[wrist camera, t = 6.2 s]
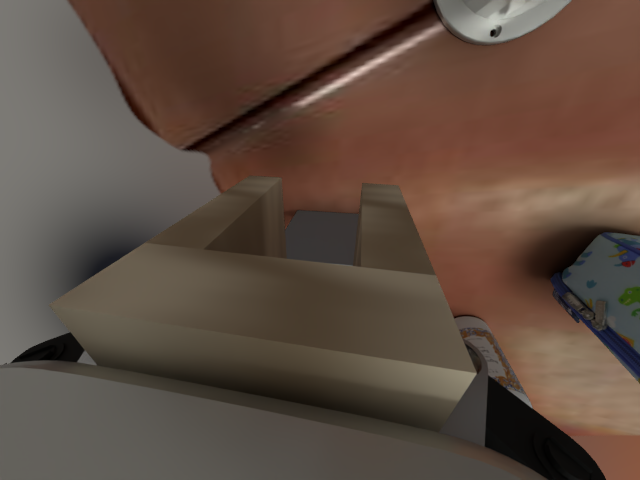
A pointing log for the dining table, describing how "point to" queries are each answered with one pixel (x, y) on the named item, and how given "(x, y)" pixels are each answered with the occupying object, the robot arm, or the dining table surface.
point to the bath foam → (491, 354)
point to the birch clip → (282, 311)
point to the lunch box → (606, 294)
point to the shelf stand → (322, 237)
